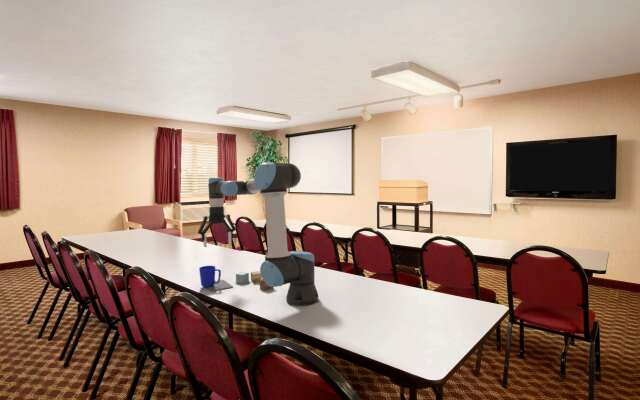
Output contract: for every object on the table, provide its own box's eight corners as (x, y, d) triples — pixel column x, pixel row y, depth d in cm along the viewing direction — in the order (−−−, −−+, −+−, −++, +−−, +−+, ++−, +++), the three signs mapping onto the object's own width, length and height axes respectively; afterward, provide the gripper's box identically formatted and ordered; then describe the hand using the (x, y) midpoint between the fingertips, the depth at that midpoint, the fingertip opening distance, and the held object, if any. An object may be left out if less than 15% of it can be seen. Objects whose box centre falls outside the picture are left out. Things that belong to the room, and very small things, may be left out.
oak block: (261, 281, 201) (261, 273, 201) (252, 283, 199) (252, 274, 199) (259, 279, 206) (259, 271, 205) (250, 280, 204) (250, 272, 203)
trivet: (233, 287, 191) (232, 286, 191) (210, 291, 184) (210, 290, 184) (223, 280, 204) (223, 279, 204) (201, 284, 198) (201, 283, 198)
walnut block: (273, 288, 189) (273, 279, 188) (266, 290, 185) (265, 281, 185) (267, 286, 192) (266, 277, 192) (259, 288, 188) (259, 279, 188)
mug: (216, 289, 186) (215, 270, 186) (196, 287, 190) (196, 268, 189) (225, 284, 194) (224, 266, 193) (206, 283, 198) (205, 265, 197)
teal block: (248, 281, 202) (248, 272, 202) (243, 283, 198) (243, 274, 197) (241, 280, 204) (241, 271, 204) (236, 282, 200) (235, 274, 200)
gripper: (236, 204, 203) (237, 241, 204) (190, 207, 189) (192, 247, 190) (241, 205, 196) (242, 243, 198) (194, 207, 182) (196, 249, 184)
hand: (217, 245), depth 194 cm, fingers open, 13 cm apart
